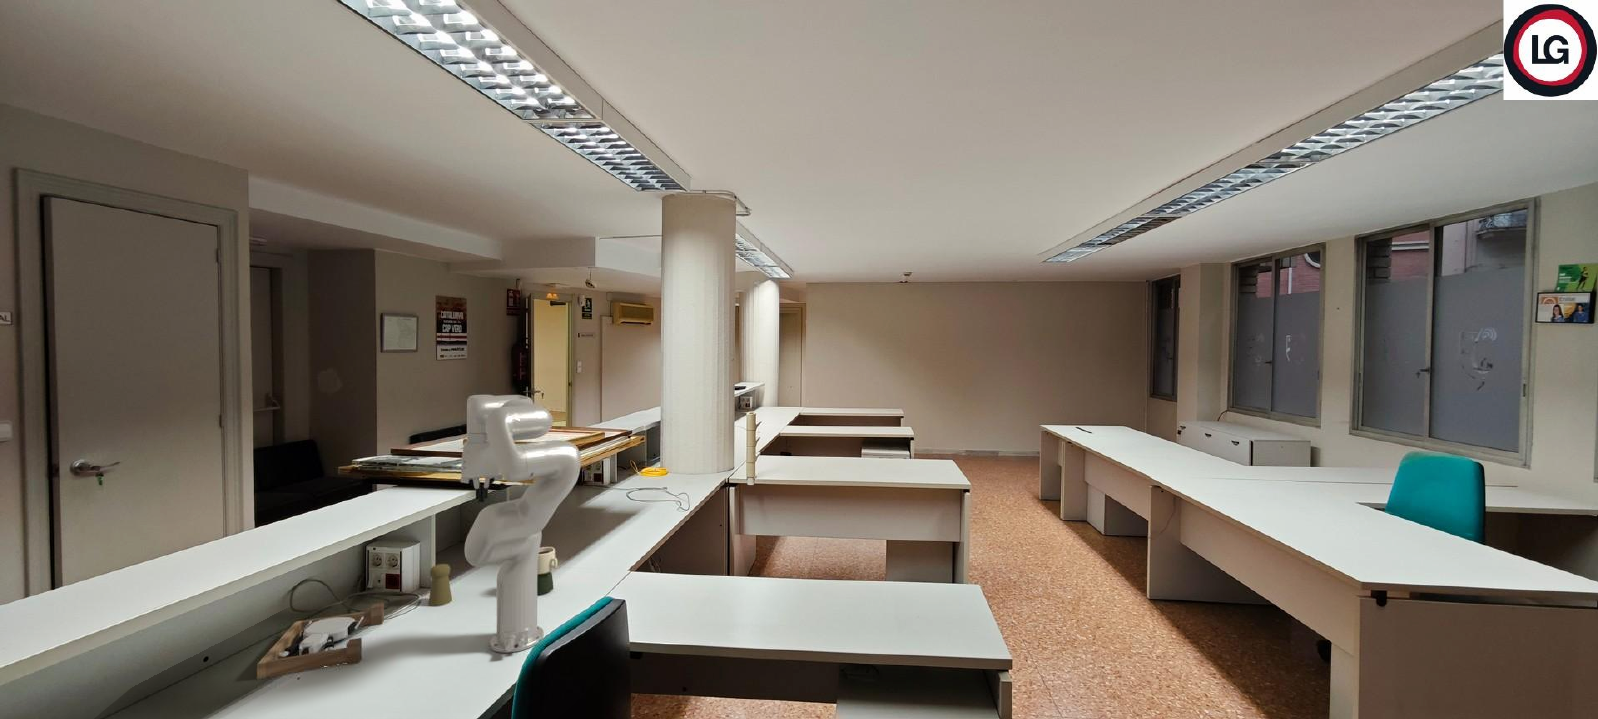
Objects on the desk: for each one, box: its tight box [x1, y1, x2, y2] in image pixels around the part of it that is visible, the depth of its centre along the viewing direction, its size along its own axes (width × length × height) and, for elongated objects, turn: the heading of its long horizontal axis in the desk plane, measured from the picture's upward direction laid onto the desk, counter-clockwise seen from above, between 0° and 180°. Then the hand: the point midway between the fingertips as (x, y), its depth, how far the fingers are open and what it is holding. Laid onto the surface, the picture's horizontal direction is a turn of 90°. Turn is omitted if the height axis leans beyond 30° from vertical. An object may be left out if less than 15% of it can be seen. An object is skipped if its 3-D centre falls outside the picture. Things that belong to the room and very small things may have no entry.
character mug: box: [537, 546, 558, 595], centre depth 178 cm, size 11×7×13 cm, turn 72°
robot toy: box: [279, 617, 363, 658], centre depth 144 cm, size 12×4×15 cm
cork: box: [427, 563, 453, 607], centre depth 170 cm, size 6×6×11 cm
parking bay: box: [256, 602, 385, 680], centre depth 144 cm, size 23×19×5 cm
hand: (481, 501), depth 164 cm, fingers closed
